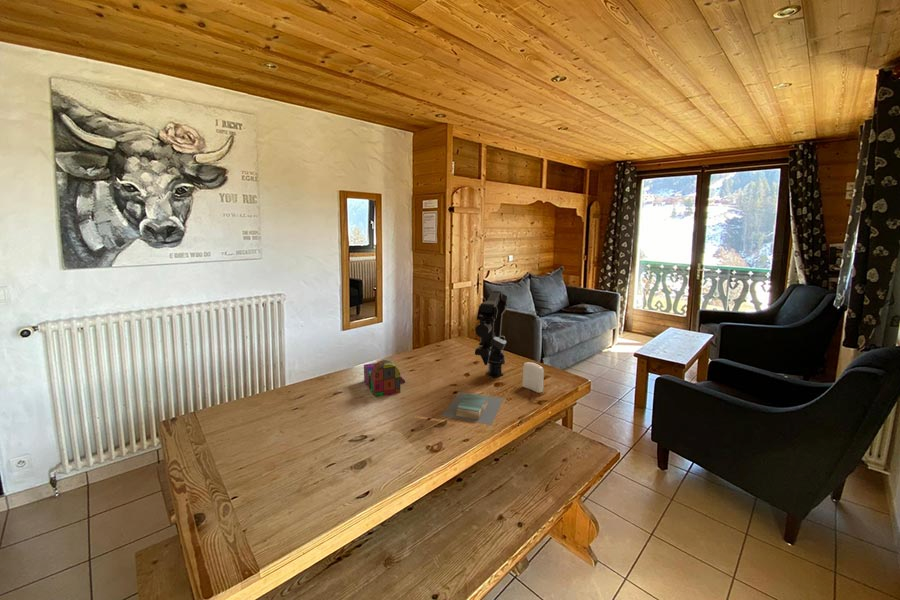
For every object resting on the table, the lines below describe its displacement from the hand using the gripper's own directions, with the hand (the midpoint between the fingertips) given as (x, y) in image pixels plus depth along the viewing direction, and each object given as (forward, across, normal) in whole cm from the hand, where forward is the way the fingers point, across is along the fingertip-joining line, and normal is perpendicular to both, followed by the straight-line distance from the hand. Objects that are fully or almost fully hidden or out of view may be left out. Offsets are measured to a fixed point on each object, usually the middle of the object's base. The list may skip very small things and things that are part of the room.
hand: (486, 364), depth 183 cm
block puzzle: (+12, -9, +46) cm, 48 cm away
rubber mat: (+12, -20, 0) cm, 23 cm away
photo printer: (+12, +8, -20) cm, 25 cm away
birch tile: (+10, -16, 0) cm, 18 cm away
